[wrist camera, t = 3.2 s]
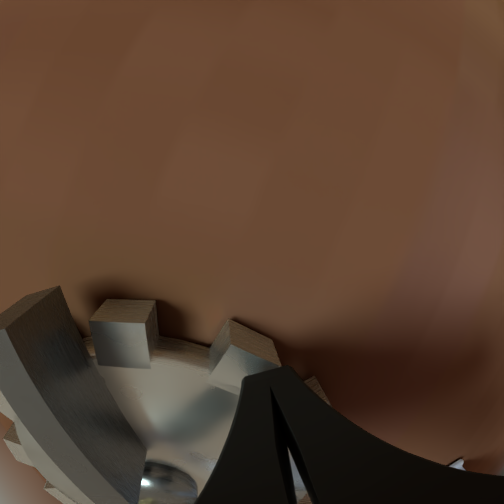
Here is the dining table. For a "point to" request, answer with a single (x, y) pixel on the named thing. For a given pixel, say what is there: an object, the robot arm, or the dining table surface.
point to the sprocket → (122, 400)
